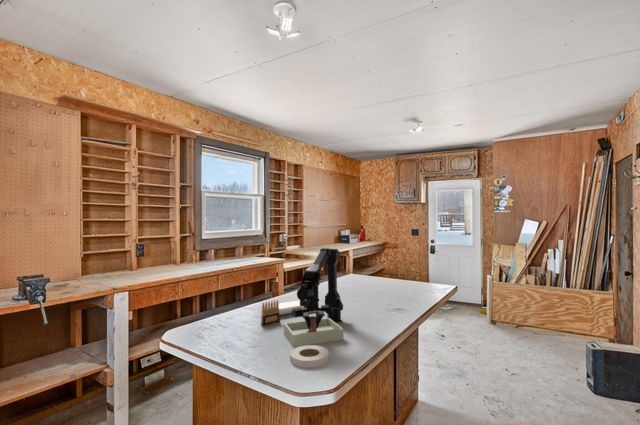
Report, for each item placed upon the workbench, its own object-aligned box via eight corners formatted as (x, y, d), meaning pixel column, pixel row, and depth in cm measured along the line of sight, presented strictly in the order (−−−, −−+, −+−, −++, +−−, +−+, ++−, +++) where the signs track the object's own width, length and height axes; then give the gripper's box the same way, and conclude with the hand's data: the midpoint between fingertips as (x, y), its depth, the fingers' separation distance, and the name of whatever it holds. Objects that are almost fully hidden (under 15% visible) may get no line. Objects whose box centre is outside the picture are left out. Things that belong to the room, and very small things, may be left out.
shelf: (316, 311, 196) (316, 302, 196) (271, 319, 179) (271, 310, 179) (306, 307, 205) (306, 299, 206) (263, 315, 189) (263, 306, 189)
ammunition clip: (262, 326, 168) (262, 303, 168) (261, 325, 169) (260, 302, 170) (279, 321, 175) (279, 299, 175) (277, 321, 176) (277, 299, 177)
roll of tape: (282, 362, 125) (282, 355, 125) (304, 349, 138) (304, 342, 138) (315, 371, 117) (315, 364, 117) (335, 356, 130) (335, 349, 130)
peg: (315, 332, 154) (314, 315, 155) (317, 335, 151) (317, 318, 151) (307, 333, 153) (307, 316, 153) (310, 336, 150) (310, 318, 150)
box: (329, 327, 164) (329, 317, 165) (343, 339, 147) (343, 328, 148) (283, 333, 156) (283, 323, 156) (293, 346, 139) (293, 335, 140)
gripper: (324, 291, 163) (325, 321, 163) (289, 294, 157) (289, 326, 156) (332, 295, 153) (333, 328, 152) (295, 299, 146) (295, 333, 146)
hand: (312, 329), depth 152 cm, fingers closed on peg, 3 cm apart
